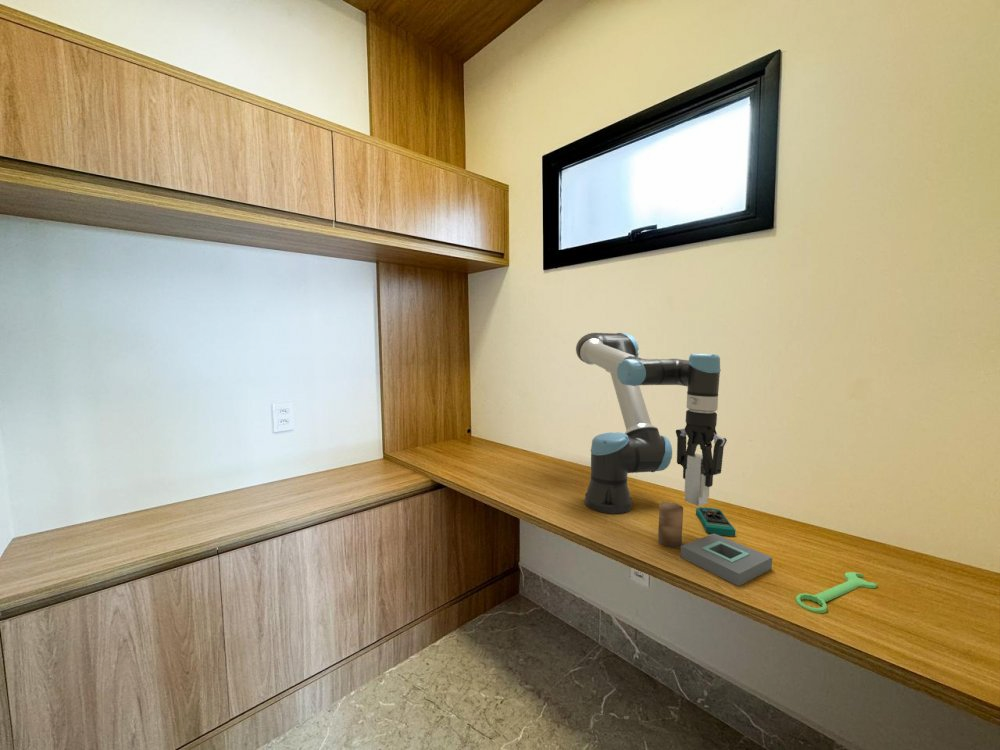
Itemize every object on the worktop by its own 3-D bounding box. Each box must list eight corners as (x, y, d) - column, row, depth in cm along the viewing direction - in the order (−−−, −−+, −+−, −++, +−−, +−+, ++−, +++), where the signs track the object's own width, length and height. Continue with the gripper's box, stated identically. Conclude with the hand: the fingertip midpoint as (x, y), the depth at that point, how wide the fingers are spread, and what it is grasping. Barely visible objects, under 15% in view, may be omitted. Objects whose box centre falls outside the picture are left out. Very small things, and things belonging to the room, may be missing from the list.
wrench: (881, 589, 87) (851, 576, 92) (882, 581, 87) (852, 568, 92) (819, 619, 76) (789, 602, 81) (820, 609, 76) (789, 593, 81)
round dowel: (653, 541, 106) (654, 504, 105) (667, 536, 109) (668, 500, 108) (672, 550, 101) (673, 512, 100) (686, 545, 104) (688, 508, 103)
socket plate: (680, 557, 98) (681, 545, 98) (713, 543, 105) (714, 532, 105) (738, 586, 86) (739, 572, 86) (771, 568, 93) (772, 556, 93)
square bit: (684, 500, 110) (687, 455, 109) (693, 498, 112) (696, 453, 111) (698, 506, 106) (701, 459, 105) (707, 503, 108) (710, 457, 107)
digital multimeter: (720, 517, 123) (721, 507, 123) (736, 538, 109) (736, 528, 109) (695, 514, 125) (695, 505, 125) (706, 535, 111) (707, 524, 110)
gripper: (665, 406, 112) (661, 486, 114) (724, 417, 98) (718, 508, 100) (681, 405, 116) (677, 482, 118) (741, 414, 102) (735, 502, 104)
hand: (696, 494), depth 109 cm, fingers closed on square bit, 4 cm apart
